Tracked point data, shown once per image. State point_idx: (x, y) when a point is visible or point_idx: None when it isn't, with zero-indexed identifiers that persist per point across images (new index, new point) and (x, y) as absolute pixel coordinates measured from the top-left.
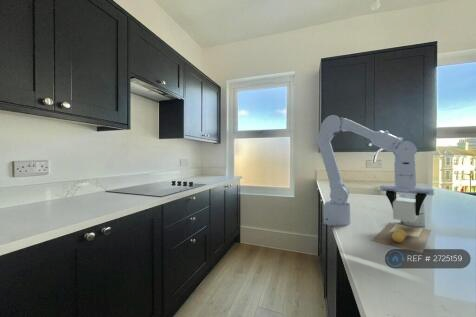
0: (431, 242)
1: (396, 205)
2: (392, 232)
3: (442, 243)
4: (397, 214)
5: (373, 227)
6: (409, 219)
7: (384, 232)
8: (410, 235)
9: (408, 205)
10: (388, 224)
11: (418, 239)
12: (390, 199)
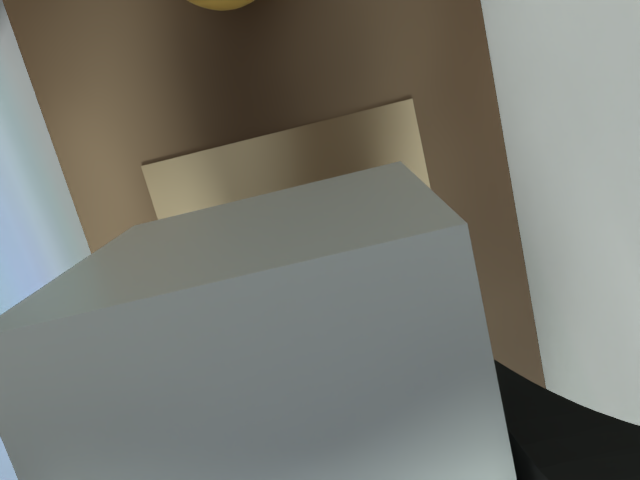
0: (71, 226)
1: (365, 223)
2: (379, 104)
3: (12, 282)
4: (344, 189)
5: (636, 205)
6: (184, 220)
7: (438, 21)
8: (213, 163)
9: (101, 293)
10: (536, 374)
11: (115, 108)
12: (622, 439)
